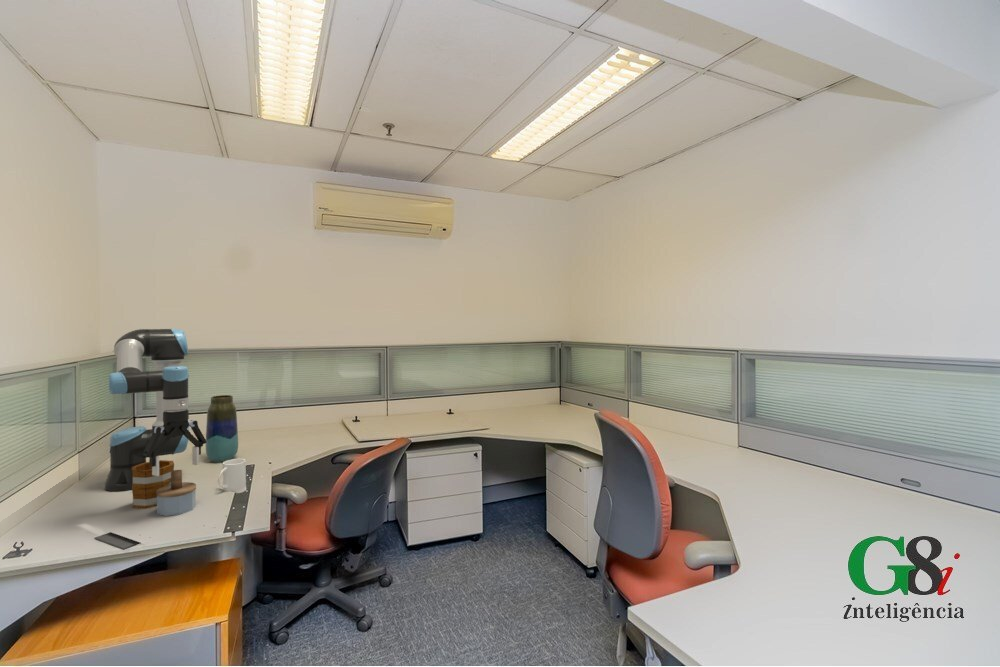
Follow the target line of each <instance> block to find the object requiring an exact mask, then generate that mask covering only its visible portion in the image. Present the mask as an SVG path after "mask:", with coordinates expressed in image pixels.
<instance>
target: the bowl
mask: <svg viewBox="0 0 1000 667" xmlns="http://www.w3.org/2000/svg"><path fill="white" fill-rule="evenodd" d="M196 502H197V501H196V490H194V491H193V492H191V493H188V494H185V495H181V496H176V497H158V496H157V506H156V514H157V515H161V516H164V517H167V516H178V515H182V514H184V513H187V512H190V511H193V510H194V508H195V507H196V506H197V505H196V504H197V503H196Z"/></svg>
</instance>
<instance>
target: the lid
mask: <svg viewBox="0 0 1000 667" xmlns="http://www.w3.org/2000/svg"><path fill="white" fill-rule="evenodd" d="M196 489H197V484H196V483H194V482H183V470H182V469H174V470H173V471H171V484H170V485H166V486H163V487H161V488H159V489H158V490H157V491H156V495H157V496H158V497H176V496H181V495H185V494H188V493H191V492H193V491H194V490H195V491H197V490H196Z"/></svg>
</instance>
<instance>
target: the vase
mask: <svg viewBox="0 0 1000 667" xmlns="http://www.w3.org/2000/svg"><path fill="white" fill-rule="evenodd" d="M233 398H234V396H233V395H231V394H230V395H228V394H223V395H222V394H220V395H213V396H211V397H210V404H209V406H208V409H207V411H206V429H205V439H206V441H207V442H206V443H205V454H206V456H207V458H208V459H209V460H210V461H211V462H213V463H214V462H215V463H223V462H225V461H227V460H232V459H235V456H236V455H237V453H238V451H239V431H238V417H237V416H238V414H237V407H236V405H235V403H234V399H233Z"/></svg>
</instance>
